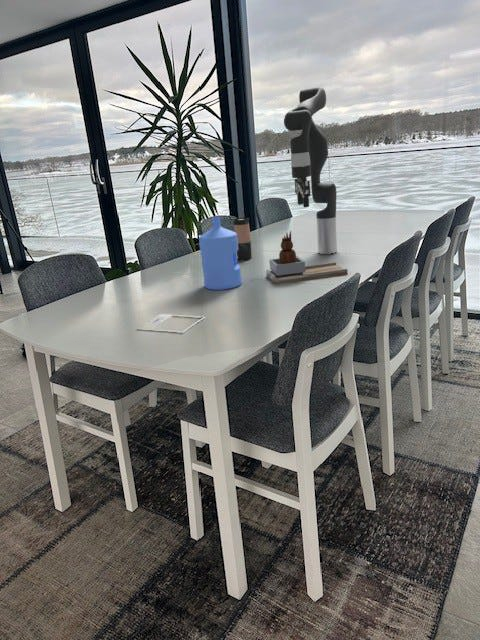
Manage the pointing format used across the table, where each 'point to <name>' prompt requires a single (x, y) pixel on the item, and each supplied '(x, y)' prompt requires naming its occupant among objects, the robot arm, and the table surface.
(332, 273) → the rail board
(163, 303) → the table surface
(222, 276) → the water jug
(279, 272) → the shallow grey tray
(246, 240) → the travel mug
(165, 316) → the photo frame
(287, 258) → the wooden figurine
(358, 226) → the table surface
